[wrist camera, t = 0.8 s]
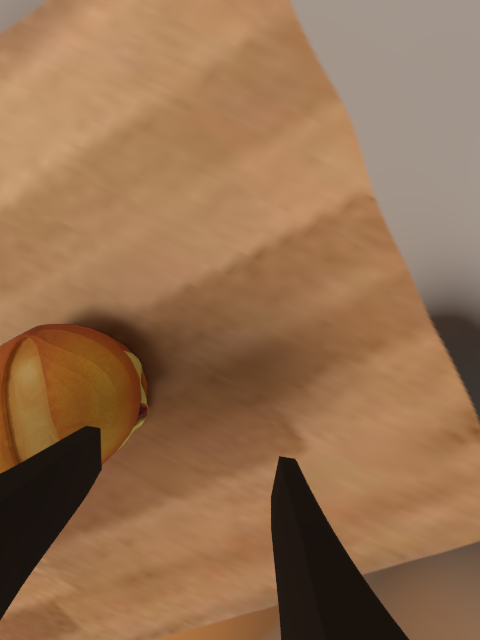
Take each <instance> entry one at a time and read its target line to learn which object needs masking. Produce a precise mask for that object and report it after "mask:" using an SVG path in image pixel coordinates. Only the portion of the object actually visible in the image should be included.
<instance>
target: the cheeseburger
mask: <svg viewBox="0 0 480 640" xmlns="http://www.w3.org/2000/svg"><path fill="white" fill-rule="evenodd" d="M147 387H148V385H147V382H146V378H145V375H144V372H143V369H142V365H141V363H140V361H139V359H138V358H137V357H136V356H135V355H134V354H132V353H131V352H130V350H129V349H128V348H127V347H126V346H124V345H123V344H121V343H120V342H118V341H116V340H115V339H113V338H111V337H110V336H108V335H106V334H103V333H101V332H98V331H96V330H94V329H92V328H87V327H81V326H78V325H70V324H46V325H40V326H37V327H34V328H32V329H30V330H28V331H26V332H24V333H23V334H21V335H19V336H17V337H15V338H13V339H11V340H10V341H8V342H6V343H5V344H3V345H2V346H0V473H2V472H4V471H6V470H8V469H10V468H12V467H14V466H16V465H17V464H19V463H21V462H23V461H25V460H26V459H28V458H30V457H32V456H33V455H35V454H37V453H39V452H40V451H42V450H44V449H46V448H48V447H49V446H51V445H53V444H54V443H56V442H58V441H60V440H61V439H63V438H65V437H67V436H68V435H70V434H72V433H74V432H75V431H77V430H79V429H81V428H83V427H85V426H91V427H98V428H101V463H102V464H103V463H104V462H105V461H106V460H108V459H109V458H110V457H111V456H112V455H113V454H114V453H115V452H116V451H118V450H119V449H120V448H121V447H122V446H123V445H124V444H125V442H126V441H127V440H128V438H129V437H130V436H131V435H132V433H133V432H134V431H135V430H136V429H137V428H139V427H140V426H141V425H142V424H143V422H144V421H145V419H146V418H147V416H148V413H149V408H148V405H147V399H146V397H147Z"/></svg>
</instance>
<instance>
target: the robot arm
mask: <svg viewBox="0 0 480 640" xmlns="http://www.w3.org/2000/svg"><path fill="white" fill-rule="evenodd" d="M101 470H102V463H101V428H98V427H91V426H85V427H83V428H81V429H79V430H77V431H75V432H74V433H72V434H70V435H68V436H67V437H65V438H63V439H61V440H60V441H58V442H56V443H54V444H53V445H51V446H49V447H48V448H46V449H44V450H42V451H40V452H39V453H37V454H35V455H33V456H32V457H30V458H28V459H26V460H25V461H23V462H21V463H19V464H17V465H16V466H14V467H12V468H10V469H8V470H6V471H4V472H2V473H0V620H1V618H2V617H3V615H4V614H5V612H6V610H7V609H8V607H9V606H10V604H11V602H12V601H13V599H14V598H15V596H16V595H17V593H18V591H19V590H20V588H21V587H22V585H23V584H24V582H25V581H26V579H27V578H28V576H29V575H30V574H31V572H32V571H33V569H34V568H35V566H36V565H37V564H38V562H39V561H40V560H41V558H42V557H43V555H44V554H45V553H46V551H47V550H48V549H49V547H50V546H51V544H52V543H53V542H54V540H55V539H56V538H57V536H58V535H59V533H60V532H61V531H62V529H63V528H64V527H65V525H66V524H67V522H68V521H69V520H70V518H71V517H72V515H73V514H74V513H75V511H76V510H77V508H78V507H79V506H80V504H81V503H82V501H83V500H84V499H85V497H86V495H87V494H88V492H89V490H90V489H91V487H92V485H93V484H94V482H95V480H96V478H97V477H98V475H99V473H100V471H101ZM271 531H272V542H273V552H274V563H275V573H276V583H277V593H278V603H279V613H280V627H281V640H409V639H408V637H407V636H406V635H405V634H404V632H403V631H402V630H401V628H400V627H399V626H398V625H397V623H396V622H395V621H394V619H393V618H392V617H391V616H390V614H389V613H388V611H387V610H386V609H385V607H384V606H383V604H382V603H381V602H380V600H379V599H378V598H377V596H376V595H375V593H374V592H373V591H372V589H371V588H370V586H369V585H368V583H367V582H366V581H365V579H364V578H363V576H362V575H361V573H360V572H359V570H358V569H357V567H356V566H355V564H354V563H353V561H352V560H351V558H350V557H349V555H348V554H347V552H346V550H345V549H344V547H343V546H342V544H341V542H340V541H339V539H338V538H337V536H336V534H335V533H334V531H333V529H332V528H331V526H330V524H329V522H328V521H327V519H326V517H325V515H324V514H323V512H322V510H321V508H320V506H319V505H318V503H317V501H316V499H315V497H314V495H313V493H312V491H311V490H310V488H309V486H308V484H307V482H306V480H305V478H304V476H303V473H302V471H301V469H300V467H299V465H298V463H297V461H296V460H295V459H293V458H286V457H280V456H279V460H278V465H277V470H276V475H275V480H274V485H273V490H272V495H271Z"/></svg>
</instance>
